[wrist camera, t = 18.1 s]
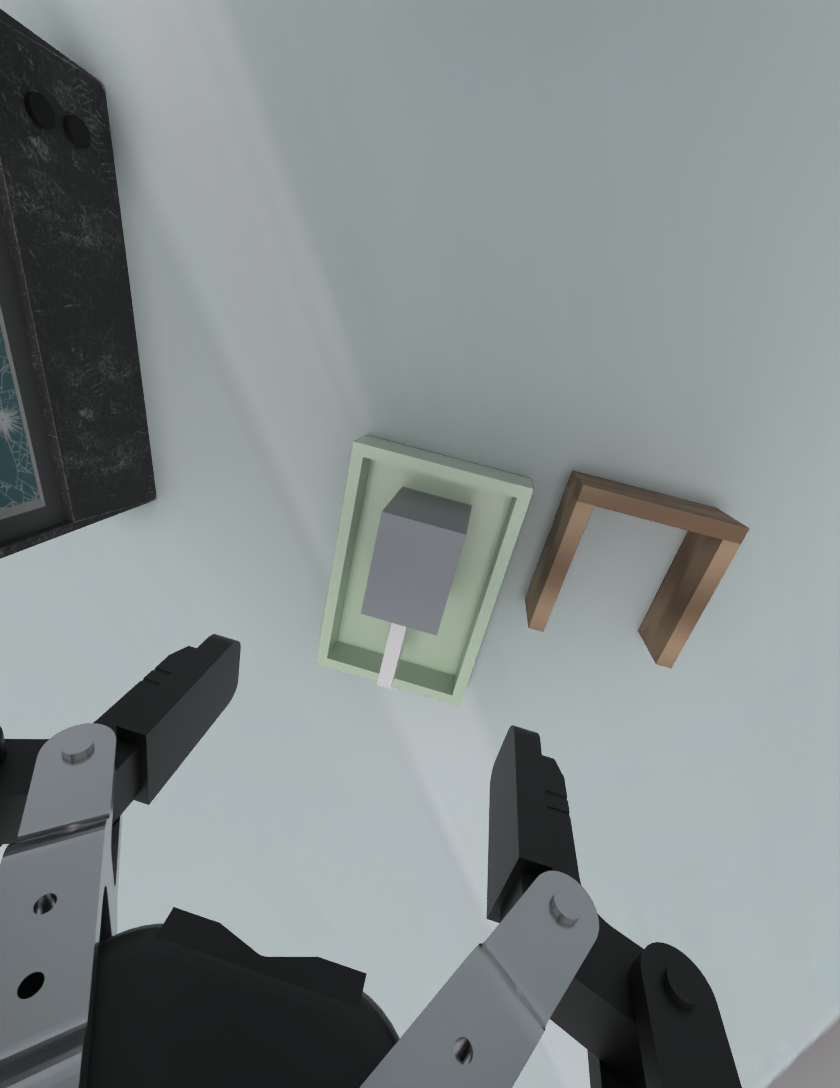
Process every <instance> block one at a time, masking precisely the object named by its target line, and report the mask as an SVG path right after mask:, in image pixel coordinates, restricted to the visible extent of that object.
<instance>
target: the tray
mask: <svg viewBox="0 0 840 1088" xmlns="http://www.w3.org/2000/svg"><path fill="white" fill-rule="evenodd" d="M402 486H403V487H406V488H410V489H414V490H417V491H421V492H425V493H428V494H432V495H436V496H439V497H443V498H447V499H451V500H454V501H458V502H462V503H465V504H469V505H472V508H471V513H470V519H469V524H468V529H467V534H466V538H465V541H464V545H463V548H462V552H461V555H460V558H459V562H458V565H457V569H456V572H455V575H454V579H453V582H452V586H451V589H450V593H449V596H448V599H447V603H446V606H445V610H444V613H443V616H442V620H441V623H440V627H439V630H438V634H437V636H436V635H432V634H429V633H425V632H422V631H419V630H415V629H412V628H409V630H408V634H407V638H406V641H405V645H404V649H403V653H402V656H401V659H400V662H399V665H398V668H397V671H396V674H395V677H394V680H393V683H392V686H393V687H396V688H399V689H403V690H406V691H409V692H413V693H416V694H419V695H423V696H426V697H429V698H433V699H436V700H439V701H443V702H446V703H449V704H453V705H456V706H459V707H460V704H461V701H462V698H463V695H464V692H465V690H466V687H467V684H468V681H469V678H470V675H471V672H472V669H473V666H474V663H475V660H476V657H477V654H478V651H479V649H480V646H481V643H482V640H483V637H484V634H485V631H486V628H487V625H488V622H489V619H490V616H491V613H492V610H493V607H494V605H495V602H496V599H497V596H498V593H499V590H500V587H501V584H502V581H503V578H504V575H505V572H506V569H507V566H508V563H509V561H510V558H511V555H512V552H513V549H514V546H515V543H516V540H517V537H518V534H519V531H520V528H521V525H522V522H523V520H524V517H525V514H526V511H527V508H528V505H529V502H530V499H531V496H532V493H533V490H534V488H533V485H532V482H531V478H527V477H523V476H520V475H516V474H512V473H508V472H505V471H501V470H497V469H493V468H489V467H486V466H482V465H478V464H474V463H470V462H467V461H463V460H459V459H455V458H451V457H448V456H444V455H440V454H436V453H432V452H429V451H425V450H421V449H417V448H414V447H410V446H406V445H402V444H398V443H395V442H391V441H387V440H383V439H379V438H376V437H372V436H368V435H365V436H363V437H361V438H359V439H357V440H355V441H353V445H352V451H351V457H350V463H349V469H348V474H347V480H346V486H345V492H344V498H343V504H342V510H341V516H340V522H339V528H338V534H337V540H336V546H335V552H334V558H333V564H332V570H331V576H330V582H329V588H328V594H327V600H326V605H325V611H324V617H323V623H322V629H321V635H320V641H319V647H318V653H317V659H316V664H319V665H323V666H326V667H329V668H333V669H336V670H339V671H343V672H346V673H349V674H353V675H356V676H359V677H363V678H366V679H369V680H373V681H376V682H377V681H378V677H379V673H380V669H381V664H382V660H383V656H384V652H385V648H386V644H387V640H388V635H389V631H390V627H391V622H388V621H384V620H381V619H377V618H374V617H370V616H367V615H364V614H361V609H362V605H363V600H364V595H365V590H366V585H367V580H368V576H369V571H370V566H371V561H372V556H373V551H374V547H375V542H376V537H377V532H378V527H379V523H380V518H381V513H382V511H383V509H384V508H385V507H386V506H387V505H388V503H389V502H390V501H391V500H392V498H393V497H394V496H395V495H396V494H397V492H398V491H399V490H400V489H401V487H402Z"/></svg>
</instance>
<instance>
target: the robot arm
mask: <svg viewBox="0 0 840 1088" xmlns="http://www.w3.org/2000/svg"><path fill="white" fill-rule="evenodd" d="M240 648H241V646H240V642H239V641H236V640H233V639H229V638H226V637H223V636H219V635H216V634H213V635H211V636H209V637H208V638H207V639H206V640H205V641H204V642H203V643H202V644H201V645H200V646H199V647H198V648H194V647H190V646H188V647H185V648H183V649H181V650H179V651H177V652H175V653H173V654H171V655H169V656H168V657H167V658H166V659H165V660H163V661H162V662H161V663H160V664H159V665H158V666H157V667H156V668H155V670H152V671H151V672H150V673H149V674H148V675H147V676H146V677H144V679H143V681H140V682H139V683H138V684H137V685H135V686H134V687H133V688H132V689H131V690H130V691H129V692H128V693H127V694H125V695H124V696H123V697H122V698H121V699H120V700H119V701H118V702H116V703H115V704H114V705H113V706H112V707H111V708H110V709H109V710H108V711H106V712H105V713H104V714H103V715H102V716H101V717H100V718H99V719H97V720H96V721H95V722H94V723H88V724H81V725H76V726H73V727H70V728H67V729H65V730H63V731H61V732H59V733H57V734H56V735H54V736H53V737H52V738H50V739H4V735H3V731H2V728H1V727H0V847H1V846H2V844H9V845H8V846H7V848H6V850H5V852H4V854H3V857H2V861H1V864H0V1088H512V1087H513V1085H514V1083H515V1081H516V1080H517V1078H518V1076H519V1075H520V1073H521V1071H522V1069H523V1068H524V1066H525V1064H526V1063H527V1061H528V1059H529V1057H530V1056H531V1054H532V1052H533V1051H534V1049H535V1047H536V1045H537V1044H538V1042H539V1040H540V1038H541V1037H542V1035H543V1033H544V1031H545V1026H546V1024H547V1022H548V1020H549V1019H551V1020H552V1021H553V1022H554V1023H556V1024H557V1025H558V1026H559V1027H561V1028H562V1029H563V1030H564V1031H566V1032H567V1033H568V1034H569V1035H570V1036H572V1037H573V1038H574V1039H575V1040H577V1041H578V1042H579V1043H580V1044H582V1045H583V1046H584V1047H585V1048H586V1049H588V1061H589V1073H590V1085H591V1088H742V1087H741V1083H740V1080H739V1076H738V1073H737V1070H736V1066H735V1063H734V1059H733V1056H732V1053H731V1049H730V1046H729V1042H728V1039H727V1036H726V1032H725V1029H724V1025H723V1022H722V1019H721V1015H720V1012H719V1008H718V1005H717V1002H716V999H715V996H714V994H713V992H712V989H711V987H710V985H709V984H708V982H707V980H706V979H705V977H704V976H703V974H702V973H701V971H700V970H699V969H698V968H697V966H696V965H695V964H694V963H693V962H692V961H691V960H690V959H689V958H688V957H687V956H686V955H685V954H683V953H682V952H681V951H679V950H678V949H676V948H675V947H673V946H671V945H668V944H665V943H660V942H656V943H651V944H649V945H648V946H647V947H646V948H645V949H643V948H641V947H640V946H639V945H637V944H636V943H634V942H633V941H631V940H630V939H628V938H627V937H626V936H624V935H623V934H621V933H620V932H618V931H617V930H616V929H614V928H613V927H611V926H610V925H609V924H608V923H606V922H605V921H604V920H603V919H602V918H601V917H600V916H599V914H598V913H597V911H596V908H595V906H594V903H593V901H592V900H591V898H590V896H589V895H588V893H587V892H586V890H585V889H584V888H583V887H582V886H581V883H580V878H579V872H578V866H577V859H576V852H575V846H574V839H573V833H572V826H571V819H570V817H569V806H568V801H567V793H566V787H565V780H564V777H563V775H562V773H561V771H560V769H559V767H558V765H557V763H556V762H555V760H554V759H553V758H549V757H546V756H543V755H542V753H541V743H540V736H539V734H538V733H536V732H533V731H529V730H526V729H523V728H519V727H516V726H513V725H512V726H511V727H510V728H509V730H508V732H507V735H506V737H505V739H504V742H503V744H502V746H501V749H500V751H499V754H498V756H497V758H496V761H495V763H494V766H493V770H492V775H491V781H490V808H489V849H488V889H487V919H489V920H492V921H495V922H498V923H500V924H499V925H498V926H497V927H496V929H495V930H494V931H493V932H492V934H491V935H490V936H489V937H488V938H487V940H486V941H485V942H484V943H483V944H479V945H478V946H477V947H476V948H475V949H474V950H473V951H472V952H471V953H470V955H469V956H468V957H467V958H466V959H465V961H464V962H463V963H462V964H461V965H460V967H459V968H458V969H457V970H456V971H455V973H454V974H453V975H452V976H451V977H450V979H449V980H448V981H447V982H446V984H445V985H444V986H443V987H442V988H441V990H440V991H439V992H438V993H437V994H436V996H435V997H434V998H433V999H432V1000H431V1002H430V1003H429V1004H428V1005H427V1007H426V1008H425V1009H424V1010H423V1011H422V1013H421V1014H420V1015H419V1016H418V1017H417V1019H416V1020H415V1021H414V1022H413V1023H412V1025H411V1026H410V1027H409V1028H408V1030H407V1031H406V1032H405V1033H404V1034H403V1036H402V1037H401V1038H399V1036H398V1034H397V1032H396V1031H395V1029H394V1027H393V1025H392V1023H391V1022H390V1020H389V1019H388V1018H387V1016H386V1015H385V1013H384V1012H383V1011H382V1009H381V1008H380V1007H379V1006H378V1005H377V1004H376V1003H375V1002H374V1001H373V1000H372V998H370V997H369V996H368V995H367V994H365V993H364V992H363V987H364V982H365V978H366V973H363V972H360V971H357V970H354V969H351V968H348V967H346V966H343V965H340V964H337V963H334V962H331V961H328V960H325V959H322V958H320V957H264V956H261V955H259V954H258V953H256V952H255V951H254V950H253V949H251V948H250V947H249V946H248V945H246V944H245V943H244V942H243V941H241V940H240V939H239V938H238V937H237V936H235V935H234V934H233V933H232V932H230V931H229V930H228V929H227V928H225V927H224V926H223V925H222V924H220V923H218V922H215V921H212V920H209V919H207V918H204V917H201V916H198V915H195V914H192V913H189V912H186V911H183V910H181V909H178V908H175V907H173V909H172V911H171V912H170V914H169V916H168V918H167V919H166V921H165V923H164V924H152V925H145V926H141V927H137V928H133V929H129V930H127V931H124V932H122V933H119V934H117V891H118V875H119V859H120V843H121V827H122V813H123V812H124V810H125V809H126V808H127V807H128V806H129V804H130V803H131V802H132V801H133V800H136V801H139V802H142V803H145V804H148V805H149V804H150V803H151V802H152V800H153V799H154V798H155V796H156V795H157V794H158V793H159V791H160V790H161V789H162V788H163V786H164V785H165V784H166V782H167V781H168V780H169V779H170V777H171V776H172V775H173V774H174V772H175V771H176V770H177V769H178V767H179V766H180V765H181V763H182V762H183V761H184V760H185V758H186V757H187V756H188V755H189V753H190V752H191V751H192V749H193V748H194V747H195V746H196V744H197V743H198V742H199V741H200V739H201V738H202V737H203V736H204V734H205V733H206V732H207V730H208V729H209V728H210V727H211V725H212V724H213V723H214V722H215V720H216V719H217V718H218V717H219V715H220V714H221V713H222V711H223V710H224V709H225V708H226V706H227V705H228V704H229V702H230V701H231V699H232V697H233V695H234V693H235V691H236V688H237V684H238V675H239V661H240Z"/></svg>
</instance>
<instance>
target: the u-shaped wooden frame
mask: <svg viewBox="0 0 840 1088" xmlns="http://www.w3.org/2000/svg"><path fill="white" fill-rule="evenodd" d="M594 506H598V507H601V508H605V509H609V510H613V511H616V512H620V513H624V514H628V515H632V516H635V517H639V518H643V519H647V520H650V521H654V522H658V523H662V524H666V525H669V526H673V527H677V528H681V529H684V530H688V533H687V535H686V537H685V539H684V541H683V543H682V545H681V547H680V549H679V551H678V553H677V555H676V557H675V559H674V561H673V563H672V565H671V567H670V569H669V571H668V573H667V575H666V577H665V579H664V581H663V583H662V585H661V587H660V589H659V591H658V593H657V595H656V597H655V599H654V601H653V603H652V605H651V607H650V609H649V611H648V613H647V615H646V617H645V619H644V620H643V622H642V624H641V626H640V628H639V630H638V632H639V633H640V635H641V637H642V639H643V641H644V643H645V645H646V646H647V648H648V650H649V652H650V654H651V656H652V658H653V659H654V661H655V663H656V664H658V665H661V666H665V667H668V668H672V666H673V664H674V663H675V661H676V659H677V657H678V656H679V654H680V652H681V650H682V648H683V647H684V645H685V643H686V641H687V639H688V638H689V636H690V634H691V632H692V630H693V629H694V627H695V625H696V623H697V622H698V620H699V618H700V616H701V614H702V613H703V611H704V609H705V607H706V605H707V604H708V602H709V600H710V598H711V596H712V595H713V593H714V591H715V589H716V588H717V586H718V584H719V582H720V580H721V579H722V577H723V575H724V573H725V571H726V570H727V568H728V566H729V564H730V563H731V561H732V559H733V557H734V555H735V554H736V552H737V550H738V548H739V546H740V545H741V543H742V541H743V539H744V537H745V536H746V534H747V532H748V530H749V528H748V527H746V526H745V525H743V524H741V523H740V522H738V521H737V520H735V519H734V518H732V517H730V516H729V515H727V514H726V513H724V512H722V511H721V510H719V509H718V508H714V507H710V506H706V505H703V504H699V503H695V502H691V501H687V500H683V499H680V498H676V497H672V496H668V495H664V494H660V493H657V492H653V491H649V490H645V489H641V488H637V487H634V486H630V485H626V484H622V483H618V482H614V481H611V480H607V479H603V478H599V477H595V476H591V475H588V474H584V473H580V472H576V471H572V474H571V476H570V479H569V482H568V484H567V487H566V490H565V493H564V495H563V498H562V501H561V503H560V506H559V509H558V511H557V514H556V517H555V520H554V522H553V525H552V528H551V530H550V533H549V536H548V538H547V541H546V544H545V547H544V549H543V552H542V555H541V557H540V560H539V563H538V565H537V568H536V571H535V574H534V576H533V579H532V582H531V584H530V587H529V590H528V592H527V595H526V598H525V603H526V612H527V620H528V628H532V629H535V630H539V631H542V632H543V631H544V629H545V626H546V624H547V621H548V619H549V616H550V614H551V611H552V609H553V606H554V604H555V601H556V599H557V596H558V594H559V591H560V589H561V586H562V584H563V581H564V579H565V576H566V574H567V571H568V569H569V566H570V564H571V561H572V559H573V556H574V554H575V551H576V549H577V546H578V544H579V542H580V539H581V537H582V534H583V532H584V529H585V527H586V524H587V522H588V519H589V517H590V514H591V512H592V509H593V507H594Z"/></svg>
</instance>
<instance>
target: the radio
mask: <svg viewBox="0 0 840 1088" xmlns="http://www.w3.org/2000/svg"><path fill="white" fill-rule="evenodd" d="M155 499H156V489H155V481H154V473H153V465H152V457H151V449H150V442H149V434H148V426H147V418H146V410H145V402H144V394H143V386H142V378H141V371H140V363H139V355H138V347H137V339H136V331H135V323H134V315H133V307H132V299H131V292H130V284H129V276H128V268H127V260H126V252H125V244H124V236H123V228H122V221H121V213H120V205H119V197H118V189H117V181H116V173H115V165H114V157H113V149H112V142H111V134H110V126H109V118H108V110H107V102H106V94H105V88H104V86H103V84H102V83H101V82H100V81H99V80H98V79H96V78H95V77H93V76H92V75H91V74H89V73H88V72H87V71H85V70H84V69H82V68H81V67H80V66H78V65H77V64H76V63H74V62H73V61H71V60H70V59H69V58H67V57H66V56H65V55H63V54H62V53H60V52H59V51H58V50H56V49H55V48H54V47H52V46H51V45H49V44H48V43H47V42H45V41H44V40H43V39H41V38H40V37H38V36H37V35H36V34H34V33H33V32H32V31H30V30H29V29H27V28H26V27H25V26H23V25H22V24H21V23H19V22H18V21H16V20H15V19H14V18H12V17H11V16H10V15H8V14H7V13H5V12H4V11H3V10H1V9H0V558H3V557H6V556H8V555H11V554H14V553H16V552H19V551H21V550H24V549H27V548H29V547H32V546H35V545H37V544H40V543H43V542H45V541H48V540H51V539H53V538H56V537H58V536H61V535H64V534H66V533H69V532H72V531H74V530H77V529H80V528H82V527H85V526H88V525H90V524H93V523H95V522H98V521H101V520H103V519H106V518H109V517H111V516H114V515H117V514H119V513H122V512H125V511H127V510H130V509H132V508H135V507H138V506H140V505H143V504H146V503H148V502H151V501H154V500H155Z"/></svg>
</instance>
